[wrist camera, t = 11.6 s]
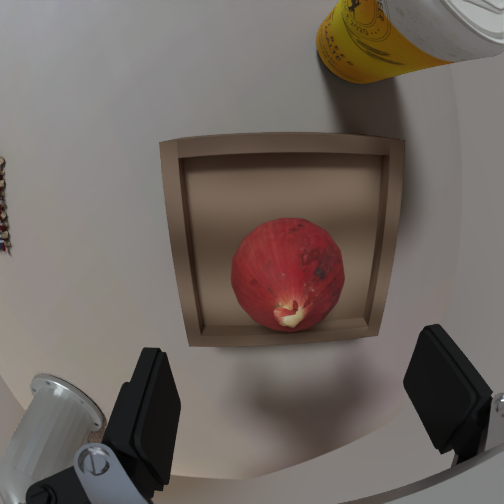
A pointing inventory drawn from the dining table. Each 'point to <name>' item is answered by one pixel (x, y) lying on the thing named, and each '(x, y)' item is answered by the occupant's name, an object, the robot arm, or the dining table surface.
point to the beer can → (407, 36)
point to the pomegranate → (288, 274)
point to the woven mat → (3, 214)
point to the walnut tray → (280, 206)
